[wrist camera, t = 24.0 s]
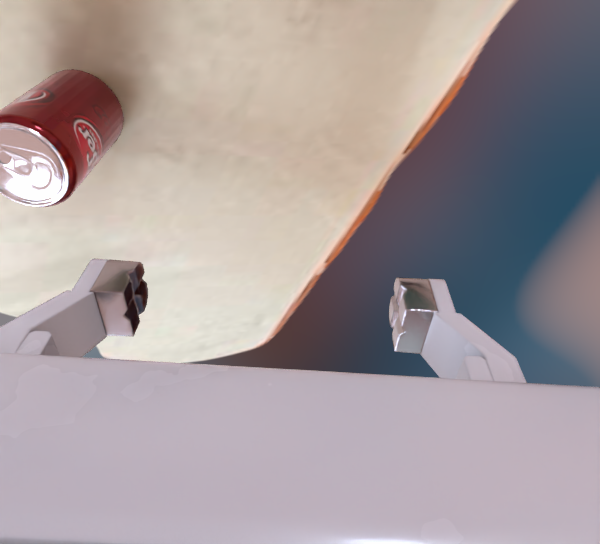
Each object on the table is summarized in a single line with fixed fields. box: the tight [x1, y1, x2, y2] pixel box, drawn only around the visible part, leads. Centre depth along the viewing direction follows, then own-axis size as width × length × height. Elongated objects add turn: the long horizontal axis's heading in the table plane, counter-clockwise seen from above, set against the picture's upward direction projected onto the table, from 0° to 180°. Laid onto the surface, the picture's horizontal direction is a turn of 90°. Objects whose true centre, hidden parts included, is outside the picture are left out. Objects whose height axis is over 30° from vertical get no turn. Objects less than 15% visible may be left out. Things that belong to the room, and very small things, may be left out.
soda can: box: [0, 69, 124, 207], centre depth 39 cm, size 7×7×12 cm
